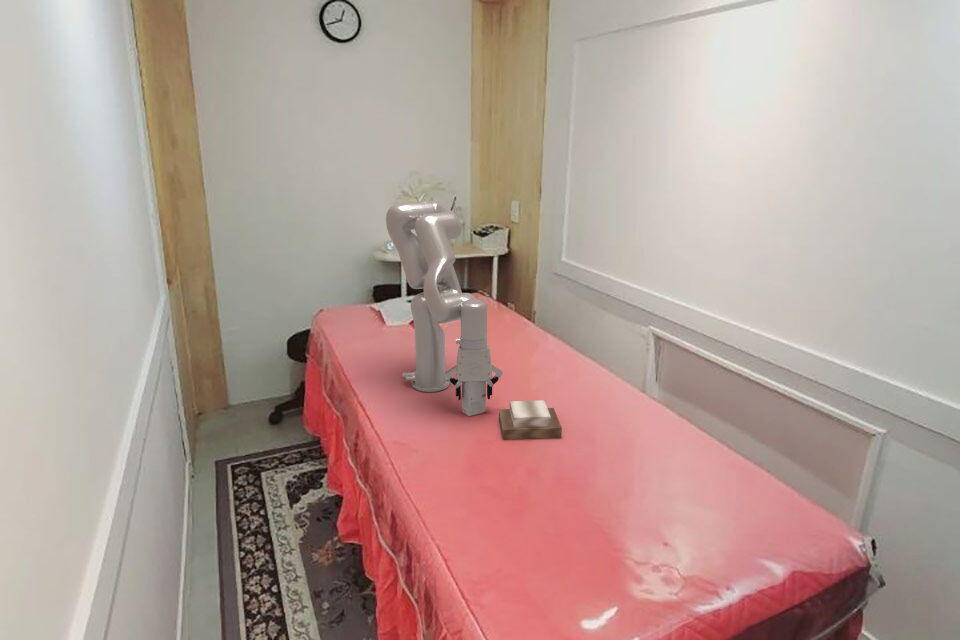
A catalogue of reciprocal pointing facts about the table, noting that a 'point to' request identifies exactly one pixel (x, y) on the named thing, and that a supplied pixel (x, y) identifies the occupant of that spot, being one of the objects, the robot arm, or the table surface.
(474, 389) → the skincare box
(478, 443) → the table surface
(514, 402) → the block stack
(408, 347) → the table surface
